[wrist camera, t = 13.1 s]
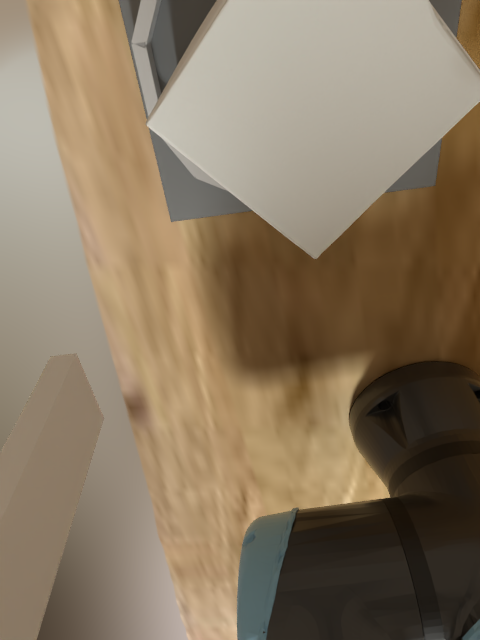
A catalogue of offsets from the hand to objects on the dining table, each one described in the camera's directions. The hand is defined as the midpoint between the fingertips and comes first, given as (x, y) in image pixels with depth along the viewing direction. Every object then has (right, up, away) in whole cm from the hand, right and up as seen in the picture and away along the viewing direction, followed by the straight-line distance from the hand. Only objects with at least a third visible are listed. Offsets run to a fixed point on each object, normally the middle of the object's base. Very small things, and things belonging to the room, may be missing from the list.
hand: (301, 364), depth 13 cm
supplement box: (0, +18, +14) cm, 23 cm away
